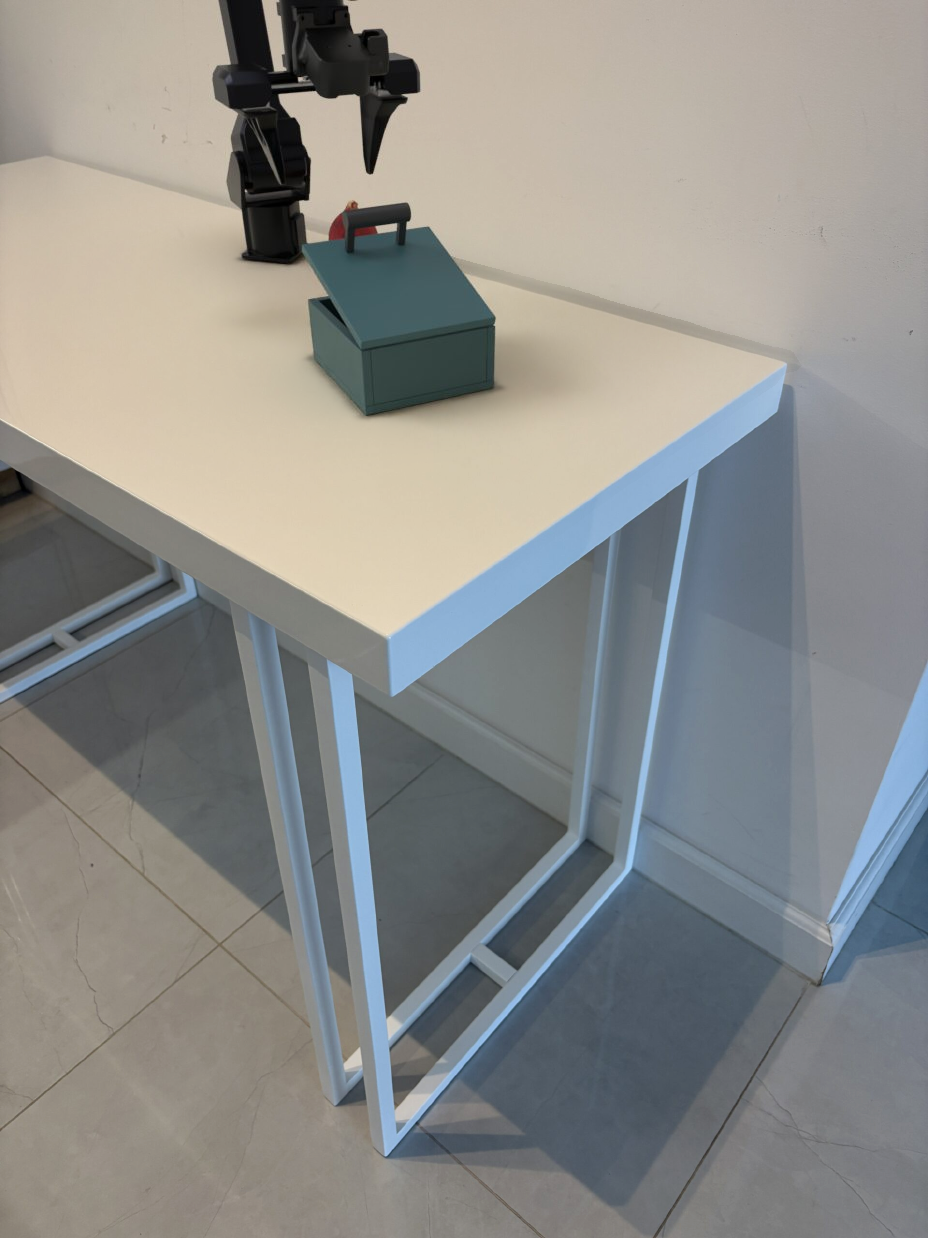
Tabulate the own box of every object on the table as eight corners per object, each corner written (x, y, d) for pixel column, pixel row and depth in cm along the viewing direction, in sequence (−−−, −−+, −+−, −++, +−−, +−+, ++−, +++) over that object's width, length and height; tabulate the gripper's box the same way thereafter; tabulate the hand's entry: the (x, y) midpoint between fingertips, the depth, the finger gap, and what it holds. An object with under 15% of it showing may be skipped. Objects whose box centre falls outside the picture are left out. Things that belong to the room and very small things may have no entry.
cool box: (313, 358, 90) (307, 298, 87) (431, 335, 95) (430, 278, 91) (365, 415, 81) (361, 351, 77) (494, 387, 85) (495, 325, 82)
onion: (373, 283, 107) (369, 209, 102) (325, 280, 108) (318, 206, 103) (385, 266, 111) (382, 195, 106) (339, 263, 112) (333, 192, 107)
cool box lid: (301, 251, 84) (301, 203, 81) (428, 233, 89) (433, 186, 85) (360, 350, 77) (363, 302, 74) (495, 324, 82) (503, 278, 78)
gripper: (232, 4, 74) (259, 211, 84) (444, -7, 81) (446, 186, 90) (197, -9, 82) (226, 182, 92) (393, -18, 88) (400, 161, 98)
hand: (326, 178), depth 93 cm, fingers open, 9 cm apart
